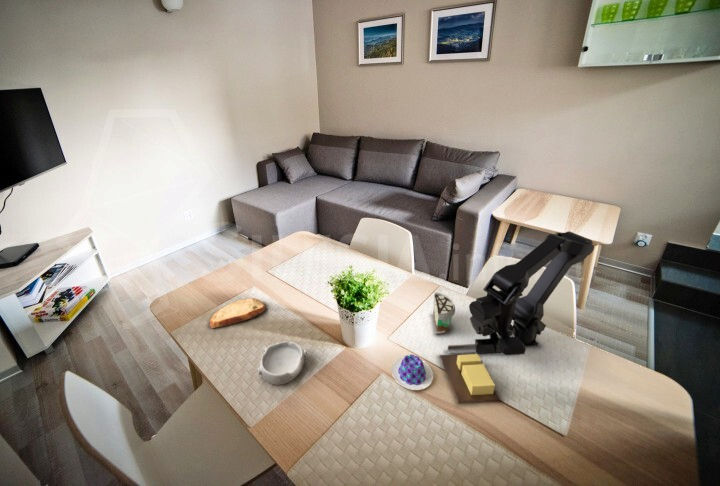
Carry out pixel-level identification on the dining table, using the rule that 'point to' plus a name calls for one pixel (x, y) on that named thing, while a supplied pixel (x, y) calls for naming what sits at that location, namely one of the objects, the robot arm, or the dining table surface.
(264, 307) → the bread slice
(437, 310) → the cake slice
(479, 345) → the knife
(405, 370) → the pudding
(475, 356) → the butter slice
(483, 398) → the butter board
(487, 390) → the butter block
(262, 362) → the dish
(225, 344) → the dining table surface
